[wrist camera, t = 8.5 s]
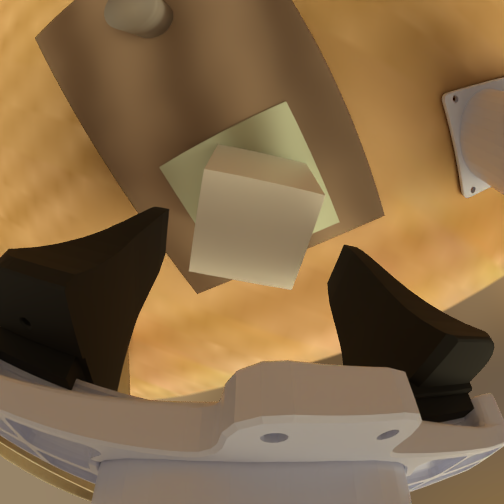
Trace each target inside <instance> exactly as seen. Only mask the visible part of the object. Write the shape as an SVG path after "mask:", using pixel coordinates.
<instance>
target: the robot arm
mask: <svg viewBox="0 0 504 504" xmlns="http://www.w3.org/2000/svg"><path fill="white" fill-rule="evenodd" d="M453 96H455V101H453ZM442 103H443V106H444V110H445V113H446V117H447V121H448V125H449V129H450V133H451V137H452V142H453V146H454V151H455V156H456V162H457V167H458V173H459V179H460V186H461V193H462V195H463V196H464V197H465V198H469V197H471V196H473V195H475V194H477V193H479V192H481V191H484V190H486V189H488V188H490V187H493V188H495V189H496V190H498V191H499V192H501V193H502V194H504V77H502V78H498V79H494V80H490V81H486V82H482V83H479V84H475V85H471V86H468V87H464V88H461V89H458V90H454V91H451V92H448V93H445V94H444V95H443V96H442ZM472 187H473V189H472V190H471V188H472ZM168 219H169V209H167V208H161V207H152V208H149V209H147V210H145V211H143V212H141V213H139V214H137V215H135V216H133V217H131V218H129V219H127V220H125V221H123V222H121V223H119V224H117V225H114V226H112V227H110V228H108V229H105V230H103V231H100V232H98V233H95V234H92V235H89V236H86V237H83V238H79V239H75V240H71V241H67V242H63V243H59V244H53V245H47V246H41V247H32V248H18V249H8V250H7V251H6V252H5V253H4V254H3V255H2V257H1V258H0V436H2V437H3V438H5V439H7V440H8V441H10V442H11V443H13V444H15V445H16V446H18V447H20V448H21V449H23V450H25V451H27V452H28V453H30V454H32V455H34V456H35V457H37V458H39V459H41V460H43V461H45V462H47V463H49V464H51V465H53V466H55V467H57V468H59V469H61V470H63V471H65V472H67V473H70V474H72V475H74V476H76V477H79V478H81V479H83V480H86V481H88V482H91V483H93V484H95V488H94V492H93V497H92V502H91V504H412V502H411V497H410V491H413V490H416V489H420V488H422V487H425V486H428V485H431V484H433V483H436V482H439V481H441V480H444V479H447V478H449V477H452V476H454V475H457V474H459V473H462V472H464V471H467V470H469V469H471V468H472V467H474V466H475V465H477V464H478V463H480V462H482V461H483V460H485V459H486V458H488V457H489V456H491V455H492V454H493V453H495V452H496V451H498V450H499V449H500V448H502V447H503V446H504V420H503V417H502V415H501V412H500V410H499V408H498V406H497V403H496V401H495V399H494V397H493V395H492V393H488V394H483V395H478V396H475V397H473V398H472V399H470V397H469V395H468V393H469V392H470V391H472V387H471V385H470V381H471V380H472V379H473V378H474V377H475V376H476V375H477V374H478V373H479V372H480V371H481V369H482V368H483V367H484V366H485V365H486V364H487V362H488V361H489V359H490V358H491V356H492V354H493V350H494V343H493V341H492V339H491V338H490V336H489V335H488V334H487V333H486V332H485V331H482V330H480V329H477V328H475V327H472V326H470V325H467V324H465V323H463V322H461V321H459V320H457V319H455V318H453V317H451V316H449V315H447V314H445V313H443V312H442V311H440V310H438V309H437V308H435V307H433V306H432V305H430V304H428V303H427V302H425V301H424V300H422V299H421V298H420V297H418V296H417V295H415V294H414V293H413V292H411V291H410V290H409V289H407V288H406V287H405V286H404V285H402V284H401V283H400V282H399V281H397V280H396V279H395V278H394V277H393V276H392V275H390V274H389V273H388V272H387V271H386V270H385V269H383V268H382V267H381V266H380V265H379V264H378V263H377V262H375V261H374V260H373V259H372V258H371V257H370V256H368V255H367V254H366V253H364V252H363V251H362V250H360V249H359V248H357V247H353V246H348V245H344V246H343V248H342V251H341V253H340V256H339V258H338V260H337V263H336V265H335V267H334V269H333V272H332V274H331V276H330V279H329V281H328V283H327V284H328V295H329V303H330V307H331V311H332V315H333V319H334V322H335V326H336V330H337V334H338V338H339V342H340V346H341V351H342V358H343V365H331V364H319V363H308V362H298V361H288V360H287V361H262V362H260V363H257V364H254V365H251V366H248V367H246V368H243V369H240V370H238V371H236V373H235V374H234V375H233V376H232V377H231V378H230V379H229V380H228V382H227V383H226V384H225V387H224V390H223V394H222V397H221V399H220V400H219V402H179V401H157V400H147V399H143V398H139V397H135V396H131V395H128V394H124V393H120V392H118V386H119V382H120V377H121V373H122V369H123V365H124V361H125V357H126V353H127V350H128V346H129V342H130V339H131V336H132V333H133V329H134V326H135V323H136V320H137V318H138V315H139V313H140V311H141V308H142V306H143V304H144V302H145V300H146V298H147V296H148V294H149V292H150V290H151V288H152V286H153V284H154V282H155V280H156V277H157V275H158V273H159V271H160V268H161V265H162V262H163V259H164V256H165V253H166V241H167V229H168Z"/></svg>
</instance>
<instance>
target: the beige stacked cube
mask: <svg viewBox="0 0 504 504" xmlns="http://www.w3.org/2000/svg"><path fill="white" fill-rule="evenodd" d="M324 198H325V194H324V192H323V190H322V189H321V187H320V185H319V184H318V182H317V180H316V179H315V177H314V176H313V174H312V172H311V171H310V169H309V167H308V166H307V164H306V163H302V162H298V161H294V160H290V159H285V158H281V157H277V156H273V155H268V154H264V153H259V152H255V151H250V150H245V149H240V148H235V147H230V146H225V145H220V144H218V145H217V147H216V149H215V150H214V152H213V154H212V156H211V157H210V159H209V161H208V163H207V165H206V166H205V168H204V172H203V178H202V184H201V190H200V196H199V202H198V209H197V215H196V222H195V229H194V236H193V243H192V251H191V258H190V266H189V271H190V272H196V273H201V274H206V275H211V276H217V277H222V278H227V279H233V280H238V281H244V282H249V283H255V284H260V285H266V286H272V287H278V288H283V289H289V290H292V287H293V285H294V282H295V280H296V277H297V274H298V272H299V269H300V266H301V263H302V261H303V258H304V255H305V253H306V250H307V247H308V244H309V242H310V239H311V236H312V233H313V230H314V227H315V225H316V222H317V219H318V216H319V213H320V210H321V207H322V204H323V201H324Z"/></svg>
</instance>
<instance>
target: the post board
mask: <svg viewBox="0 0 504 504" xmlns="http://www.w3.org/2000/svg"><path fill="white" fill-rule="evenodd" d="M35 39H36V41H37V43H38V45H39V47H40V49H41V51H42V53H43V55H44V57H45V59H46V61H47V63H48V65H49V67H50V69H51V71H52V73H53V75H54V77H55V78H56V80H57V82H58V84H59V86H60V88H61V90H62V91H63V93H64V95H65V97H66V99H67V100H68V102H69V104H70V106H71V107H72V109H73V111H74V113H75V114H76V116H77V118H78V119H79V121H80V123H81V125H82V126H83V128H84V130H85V131H86V133H87V135H88V136H89V138H90V140H91V141H92V143H93V144H94V146H95V148H96V149H97V151H98V153H99V154H100V156H101V157H102V159H103V161H104V162H105V164H106V165H107V167H108V168H109V170H110V172H111V173H112V175H113V176H114V178H115V179H116V181H117V182H118V184H119V185H120V187H121V188H122V190H123V191H124V193H125V194H126V196H127V197H128V199H129V200H130V202H131V203H132V205H133V206H134V208H135V209H136V211H137V212H138V214H139V213H141V212H143V211H145V210H147V209H149V208H152V207H161V208H167V209H169V219H168V229H167V241H166V253H167V254H168V256H169V257H170V258H171V260H172V261H173V262H174V264H175V265H176V267H177V268H178V269H179V271H180V272H181V273H182V275H183V276H184V277H185V278H186V280H187V281H188V282H189V284H190V285H191V286H192V288H193V289H194V290H195V292H196V293H197V294H198V293H201V292H203V291H206V290H208V289H211V288H213V287H216V286H218V285H221V284H223V283H226V282H228V281H231V280H233V279H227V278H222V277H217V276H211V275H206V274H201V273H196V272H190V271H189V266H190V258H191V251H192V243H193V236H194V229H195V222H196V215H197V209H198V202H199V196H200V190H201V184H202V178H203V172H204V168H205V166H206V165H207V163H208V161H209V159H210V157H211V156H212V154H213V152H214V150H215V149H216V147H217V145H218V144H220V145H225V146H230V147H235V148H240V149H245V150H250V151H255V152H259V153H264V154H268V155H273V156H277V157H281V158H285V159H290V160H294V161H298V162H302V163H306V164H307V166H308V167H309V169H310V171H311V172H312V174H313V176H314V177H315V179H316V180H317V182H318V184H319V185H320V187H321V189H322V190H323V192H324V194H325V198H324V201H323V204H322V207H321V210H320V213H319V216H318V219H317V222H316V225H315V227H314V230H313V233H312V236H311V239H310V242H309V244H308V247H307V249H308V248H310V247H313V246H315V245H317V244H320V243H322V242H324V241H327V240H329V239H331V238H334V237H336V236H338V235H341V234H343V233H345V232H348V231H350V230H352V229H355V228H357V227H359V226H362V225H364V224H366V223H369V222H371V221H373V220H376V219H378V218H380V217H382V216H385V215H384V212H383V208H382V205H381V201H380V198H379V195H378V192H377V188H376V185H375V182H374V179H373V176H372V173H371V170H370V167H369V164H368V161H367V158H366V156H365V153H364V150H363V147H362V145H361V142H360V139H359V137H358V134H357V131H356V129H355V126H354V124H353V121H352V119H351V116H350V114H349V112H348V109H347V107H346V104H345V102H344V100H343V98H342V95H341V93H340V91H339V89H338V86H337V84H336V82H335V80H334V78H333V76H332V73H331V71H330V69H329V67H328V65H327V63H326V61H325V59H324V57H323V55H322V53H321V51H320V49H319V47H318V46H317V44H316V42H315V40H314V38H313V36H312V34H311V33H310V31H309V29H308V27H307V25H306V24H305V22H304V20H303V18H302V17H301V15H300V13H299V12H298V10H297V8H296V7H295V5H294V3H293V2H292V0H74V1H73V2H72V3H71V4H70V5H69V6H67V7H66V8H65V9H64V10H63V11H62V12H61V13H60V14H59V15H58V16H56V17H55V18H54V19H53V20H52V21H51V22H50V23H49V24H48V25H47V26H46V27H45V28H44V29H43V30H42V31H41V32H40V33H39V34H38V35H37V36H36V37H35Z"/></svg>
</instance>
